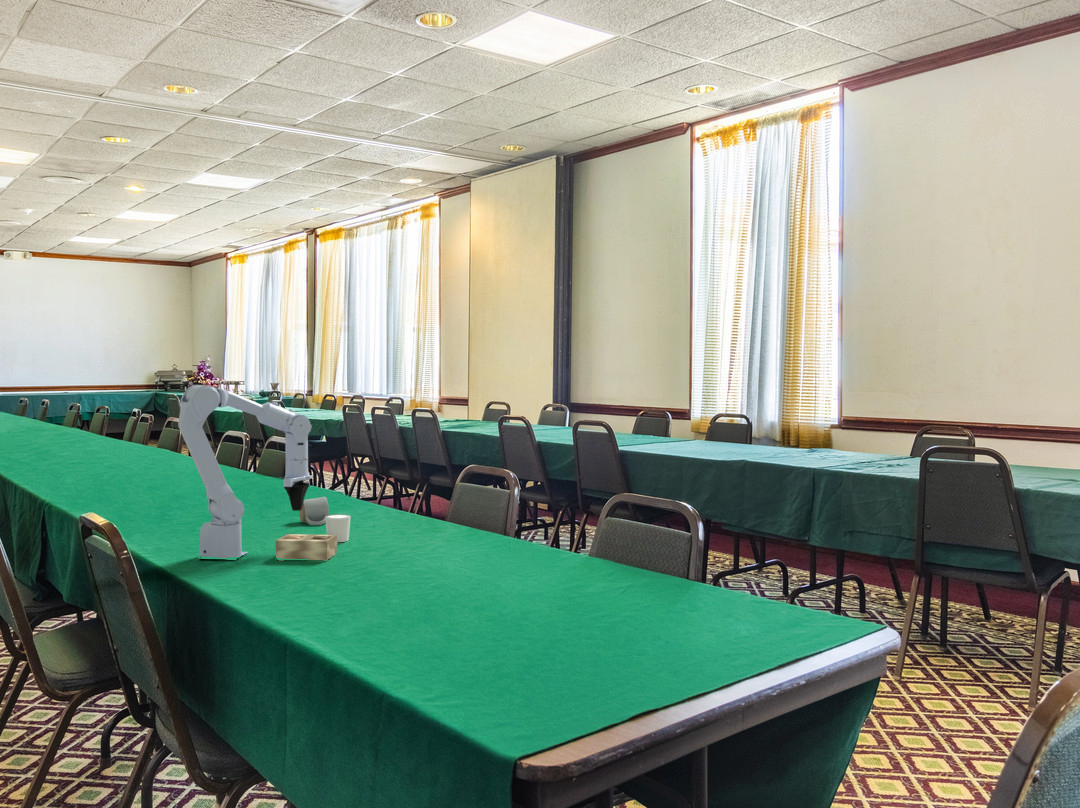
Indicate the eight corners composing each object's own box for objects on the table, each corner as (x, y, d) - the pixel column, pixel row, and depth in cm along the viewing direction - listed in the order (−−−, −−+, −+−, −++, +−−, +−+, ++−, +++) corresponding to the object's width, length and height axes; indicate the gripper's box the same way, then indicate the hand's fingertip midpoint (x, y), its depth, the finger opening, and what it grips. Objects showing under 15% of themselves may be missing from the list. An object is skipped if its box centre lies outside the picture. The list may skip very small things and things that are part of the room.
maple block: (275, 560, 212) (275, 540, 211) (287, 553, 219) (287, 534, 219) (327, 561, 211) (327, 541, 211) (336, 554, 219) (336, 535, 218)
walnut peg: (311, 557, 213) (310, 538, 213) (315, 554, 217) (315, 535, 217) (325, 557, 213) (325, 538, 213) (329, 554, 217) (329, 535, 216)
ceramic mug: (298, 521, 265) (298, 496, 264) (324, 519, 268) (324, 495, 268) (304, 527, 255) (304, 502, 255) (332, 525, 259) (332, 500, 258)
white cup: (354, 539, 238) (354, 514, 238) (346, 544, 231) (346, 518, 231) (330, 538, 239) (330, 513, 238) (321, 543, 232) (321, 518, 232)
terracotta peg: (283, 556, 214) (283, 538, 213) (288, 553, 217) (288, 535, 217) (297, 557, 213) (297, 538, 213) (302, 554, 217) (302, 535, 217)
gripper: (302, 462, 217) (302, 515, 218) (320, 456, 231) (320, 505, 232) (275, 462, 217) (275, 514, 218) (294, 456, 232) (295, 505, 232)
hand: (297, 510), depth 225 cm, fingers closed
